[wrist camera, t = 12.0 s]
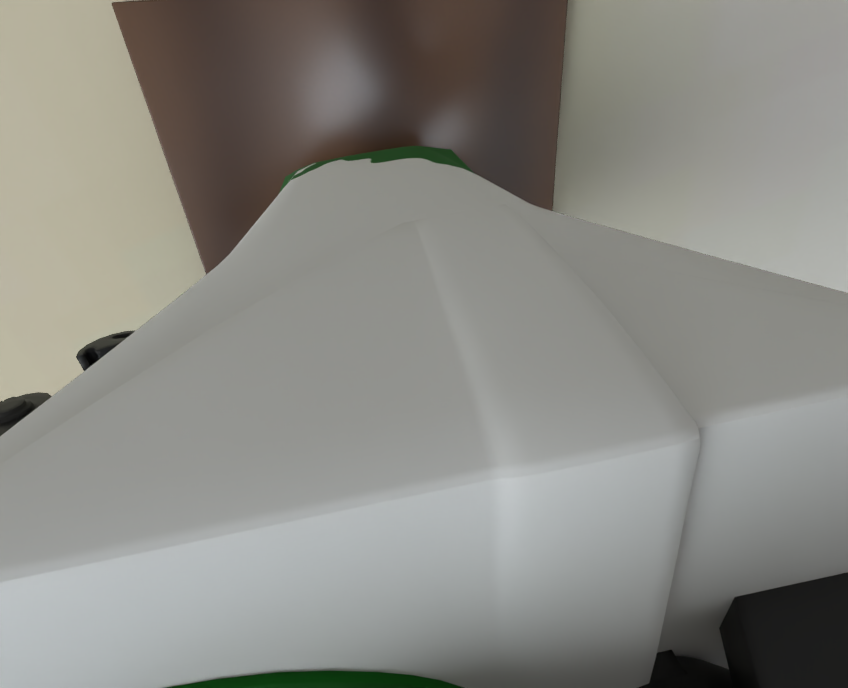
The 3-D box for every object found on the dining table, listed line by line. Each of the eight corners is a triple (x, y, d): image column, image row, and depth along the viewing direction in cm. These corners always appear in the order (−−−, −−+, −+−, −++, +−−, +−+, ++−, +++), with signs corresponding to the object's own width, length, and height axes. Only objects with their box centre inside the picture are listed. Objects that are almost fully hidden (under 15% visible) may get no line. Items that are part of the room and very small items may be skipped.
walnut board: (564, -24, 20) (570, -27, 19) (539, 344, 30) (542, 348, 29) (117, 4, 18) (110, 2, 18) (248, 385, 28) (246, 391, 28)
